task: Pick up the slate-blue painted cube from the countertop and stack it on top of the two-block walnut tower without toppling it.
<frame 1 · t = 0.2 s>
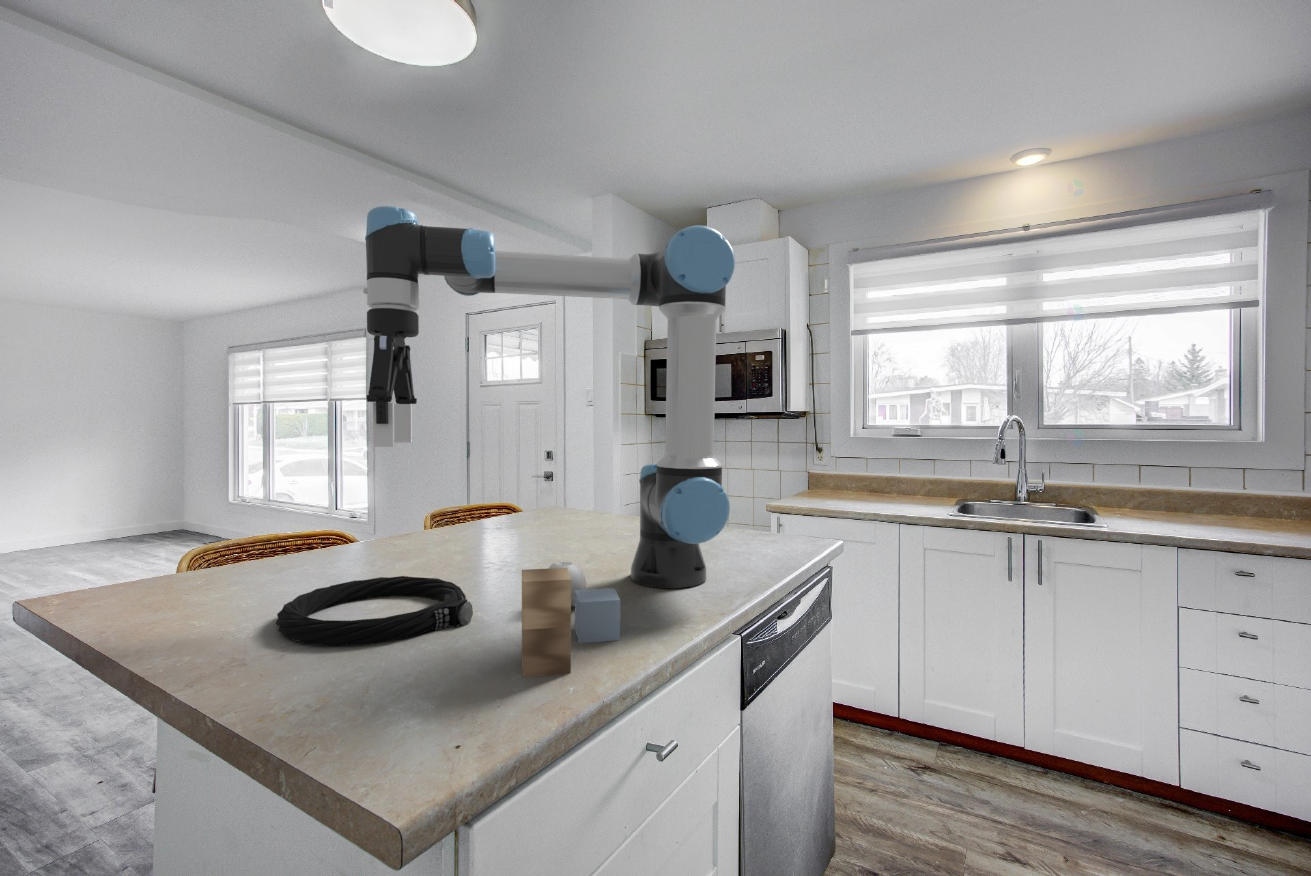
hand: (394, 444, 97), 28 cm above the worktop, fingers open, 13 cm apart
slate block: (596, 634, 91), on the worktop
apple: (563, 608, 103), on the worktop
tower upper block: (545, 620, 79), point 6 cm above the worktop, touching tower lower block
tower lower block: (545, 665, 79), on the worktop, touching tower upper block
ring: (383, 620, 98), on the worktop
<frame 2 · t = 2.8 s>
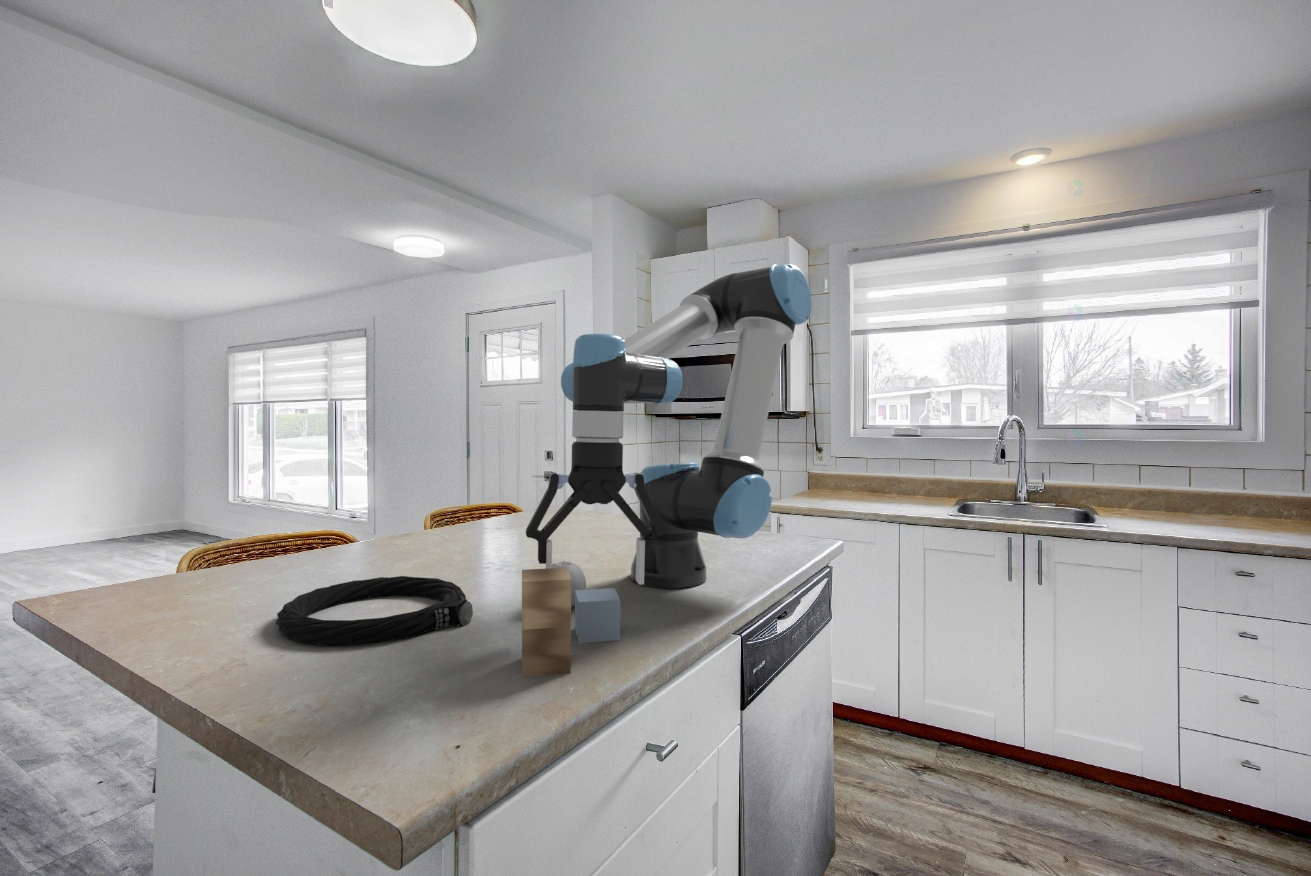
hand: (594, 584, 90), 8 cm above the worktop, fingers open, 13 cm apart
nothing on the worktop moved.
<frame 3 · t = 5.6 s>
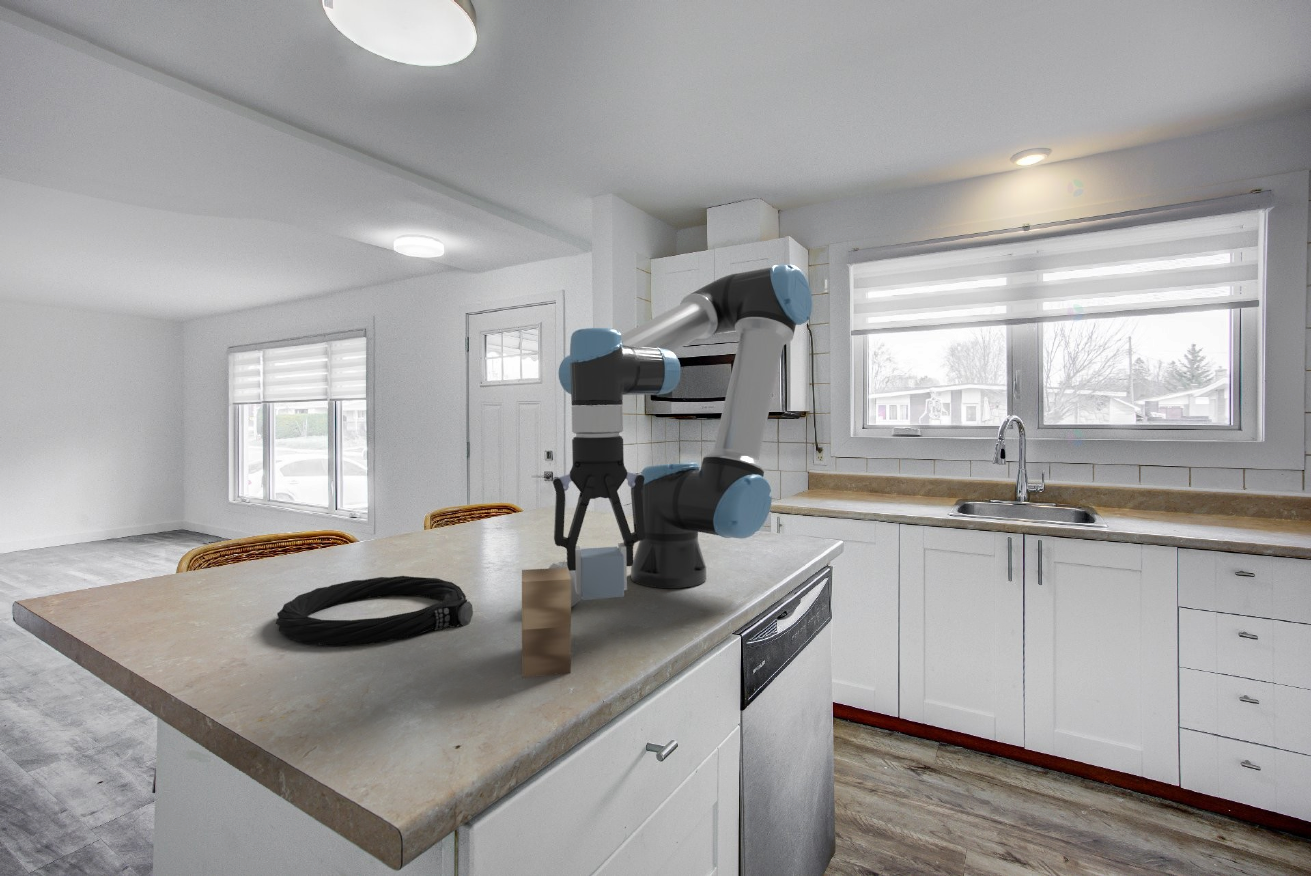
hand: (600, 589, 91), 7 cm above the worktop, fingers closed on slate block, 6 cm apart
slate block: (600, 591, 91), point 6 cm above the worktop, touching gripper
everything else where it was.
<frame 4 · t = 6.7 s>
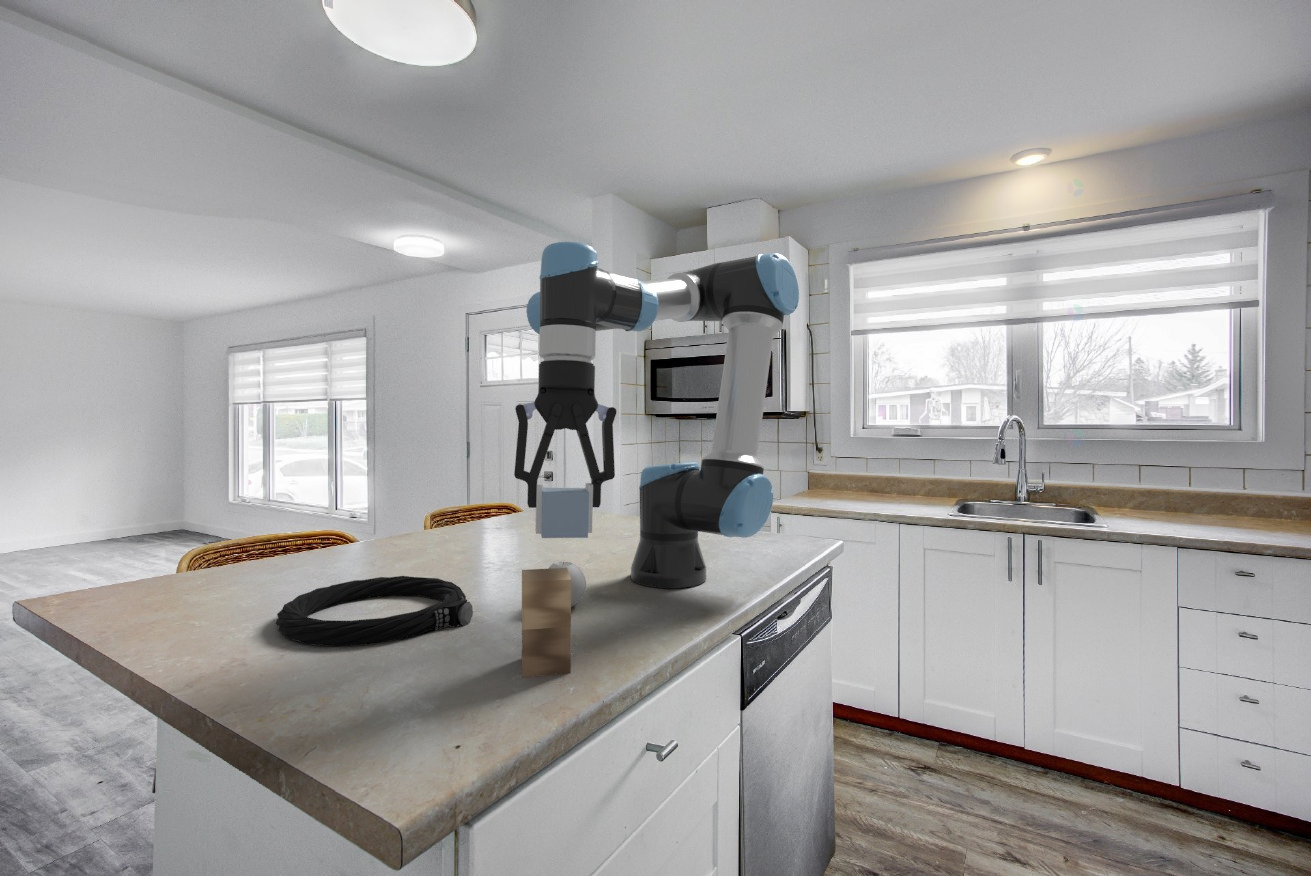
hand: (563, 531, 83), 17 cm above the worktop, fingers closed on slate block, 6 cm apart
slate block: (563, 534, 83), point 16 cm above the worktop, touching gripper
everything else where it was.
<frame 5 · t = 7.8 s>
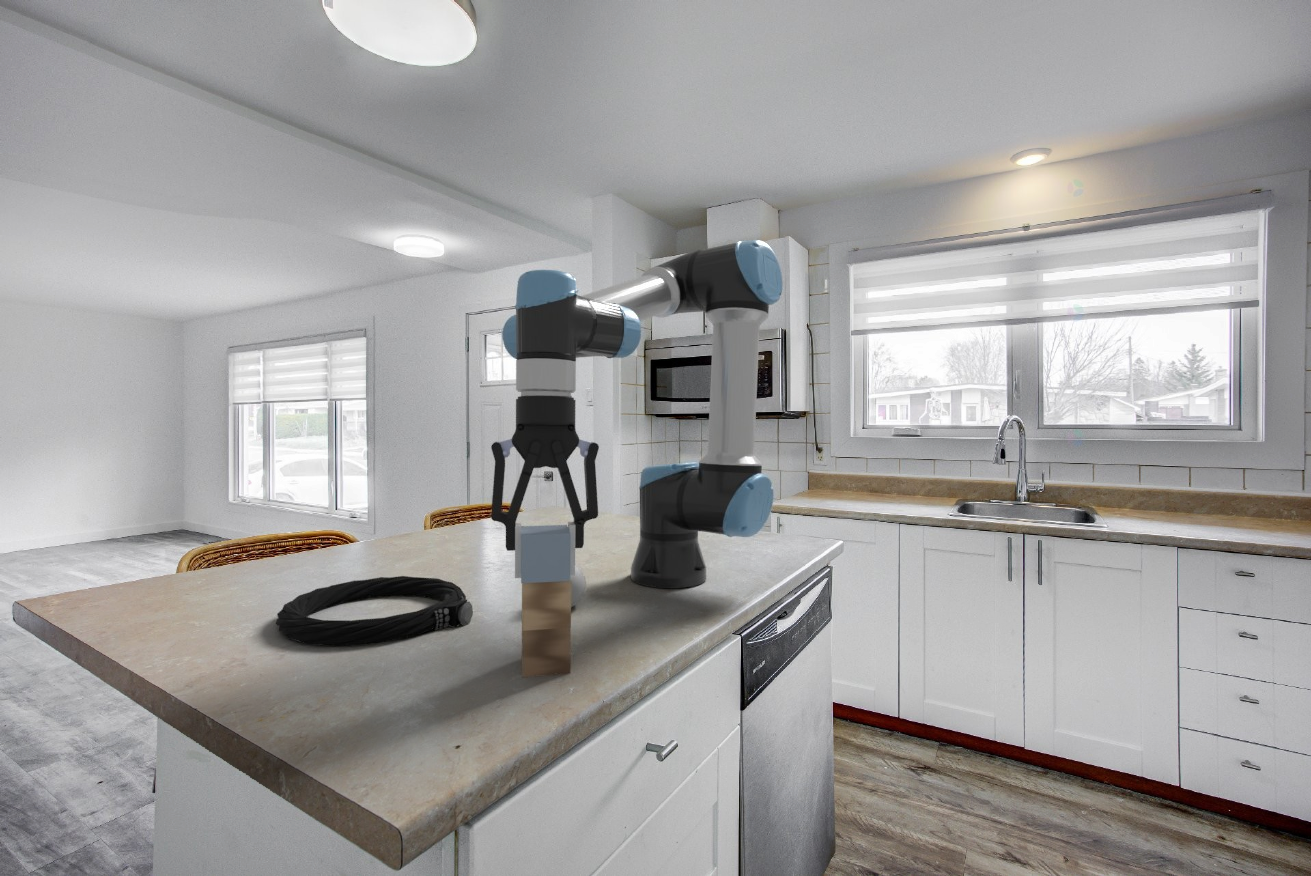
hand: (544, 573, 79), 12 cm above the worktop, fingers closed on slate block, 6 cm apart
slate block: (544, 575, 79), point 12 cm above the worktop, touching gripper, tower upper block
tower upper block: (545, 621, 79), point 6 cm above the worktop, touching gripper, slate block, tower lower block
everything else where it was.
when the fingers open (12 cm above the worktop, at t = 8.5 s): slate block stays where it is, resting on tower upper block.
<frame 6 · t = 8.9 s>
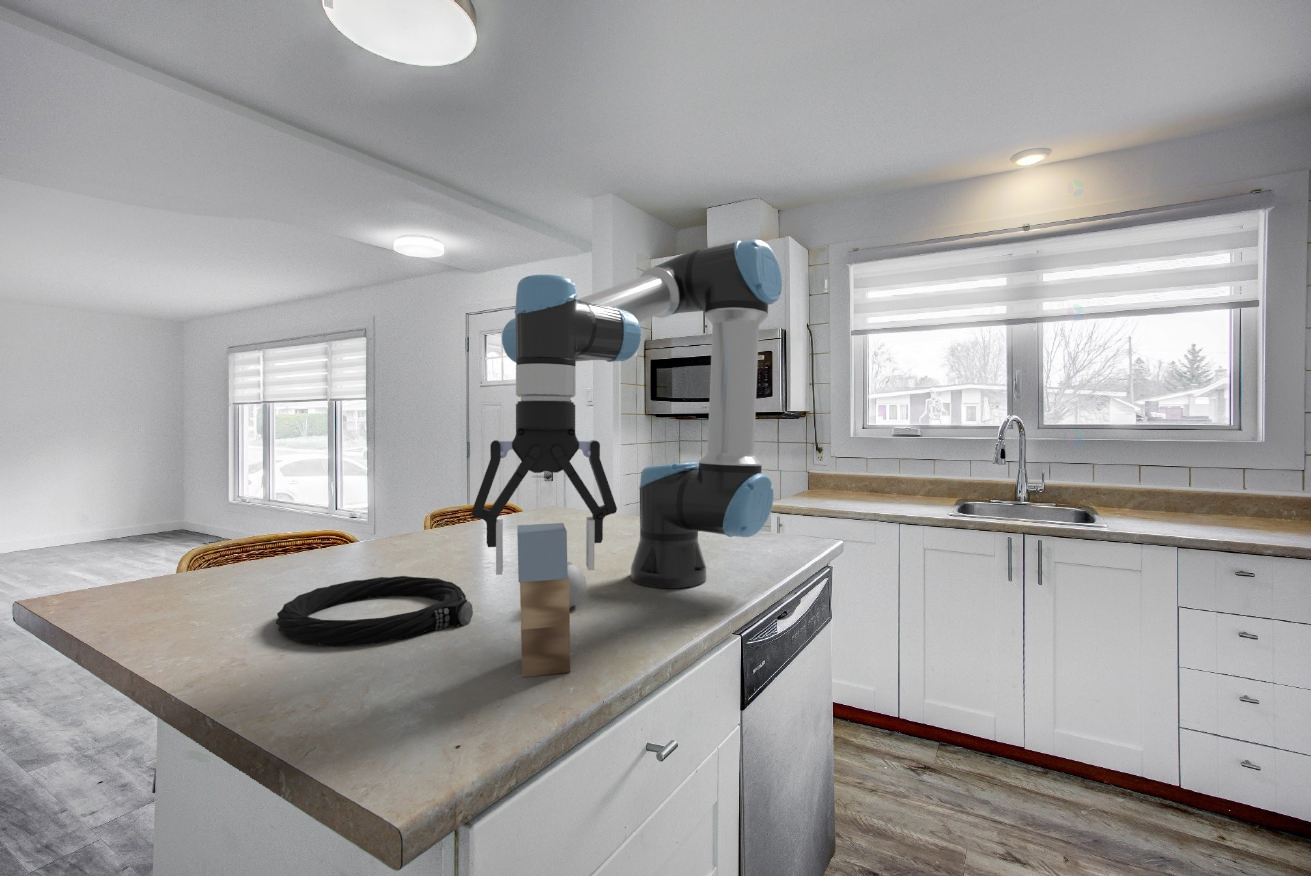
hand: (545, 569, 79), 13 cm above the worktop, fingers open, 11 cm apart
slate block: (542, 574, 78), point 12 cm above the worktop, touching tower upper block
tower upper block: (544, 619, 79), point 6 cm above the worktop, touching slate block, tower lower block
everything else where it was.
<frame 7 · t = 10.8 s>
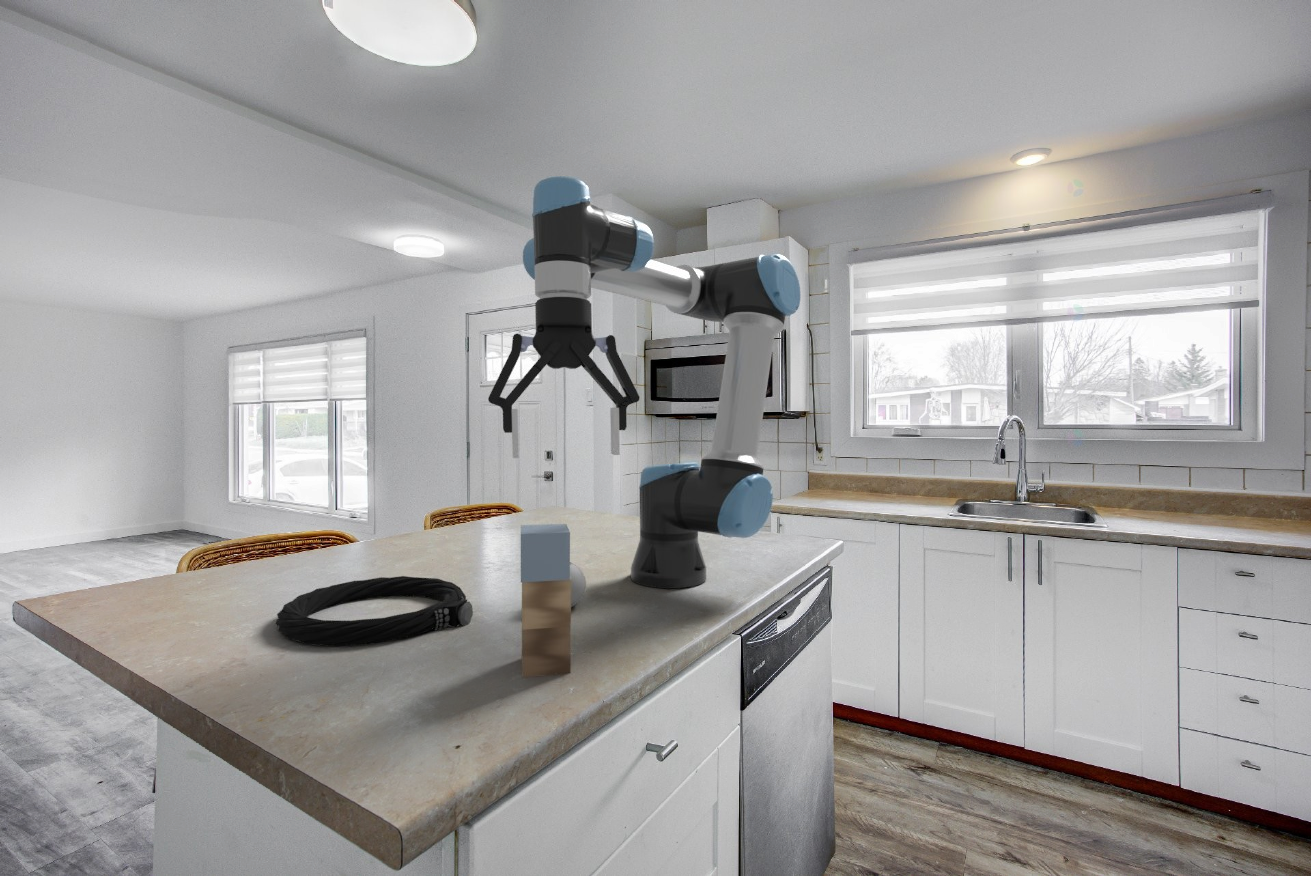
hand: (566, 456, 83), 27 cm above the worktop, fingers open, 13 cm apart
nothing on the worktop moved.
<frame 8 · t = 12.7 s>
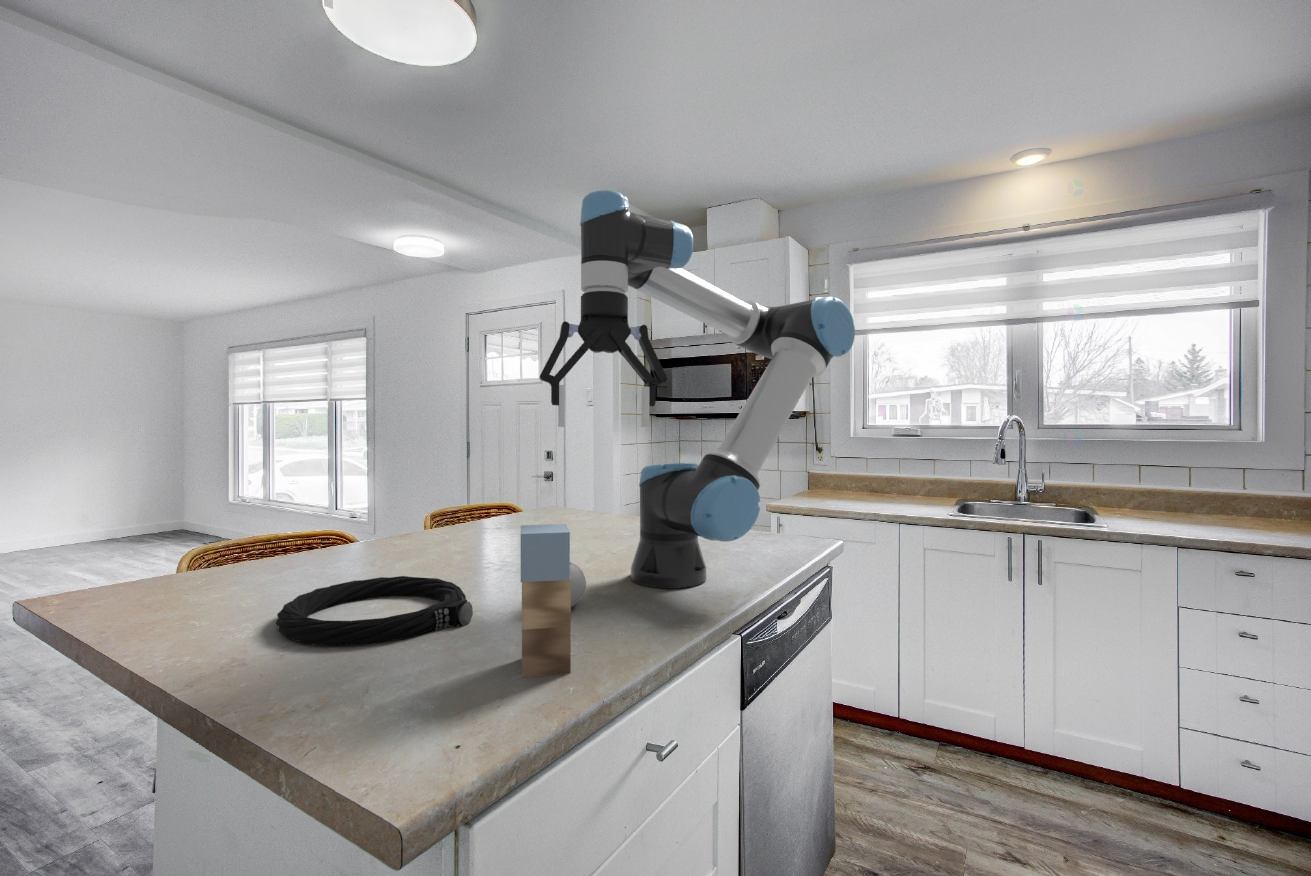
hand: (603, 427, 98), 31 cm above the worktop, fingers open, 13 cm apart
nothing on the worktop moved.
at the end: slate block 0.2 cm off-centre on the tower lower block, point 12.0 cm above the tower lower block's base; tower upper block tilted 0°; the gripper is holding nothing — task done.
